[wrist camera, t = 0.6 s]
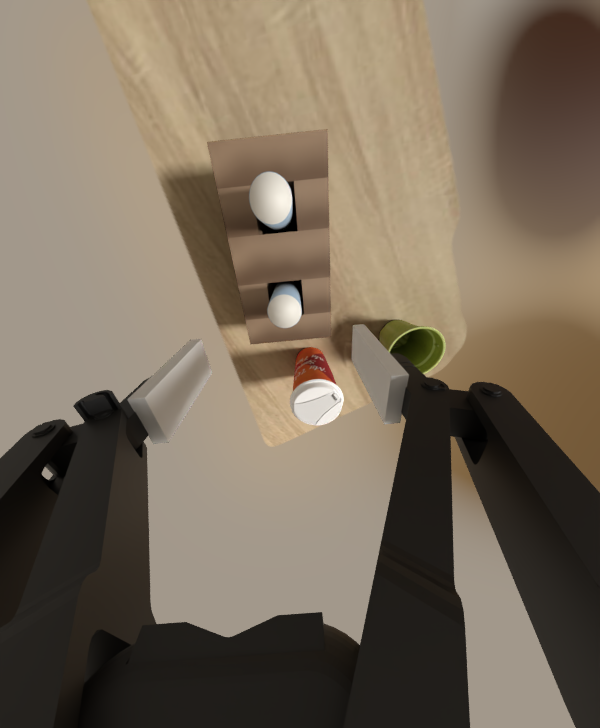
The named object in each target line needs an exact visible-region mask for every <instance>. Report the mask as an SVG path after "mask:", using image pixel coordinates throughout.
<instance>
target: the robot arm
mask: <svg viewBox="0 0 600 728" xmlns="http://www.w3.org/2000/svg"><path fill="white" fill-rule="evenodd" d="M352 362H353V364H354V366H355V368H356V370H357V372H358V374H359V376H360V378H361V380H362V382H363V383H364V385H365V387H366V389H367V391H368V393H369V395H370V397H371V399H372V401H373V403H374V405H375V407H376V409H377V411H378V413H379V415H380V417H381V419H382V421H383V423H384V424H392V423H400V421H401V415H402V414H403V416H404V417H405V419H406V423H405V428H404V433H403V438H402V443H401V448H400V453H399V458H398V463H397V467H396V472H395V477H394V482H393V487H392V492H391V497H390V502H389V507H388V512H387V516H386V521H385V526H384V531H383V536H382V541H381V546H380V551H379V556H378V560H377V565H376V570H375V575H374V580H373V585H372V590H371V595H370V600H369V604H368V609H367V614H366V619H365V624H364V629H363V634H362V639H361V643H360V645H359V644H358V643H357V642H356V641H354V640H353V639H352V638H351V637H349V636H348V635H347V634H345V633H343V632H342V631H340V630H338V629H336V628H334V627H331V626H329V625H326V624H324V623H323V617H322V612H318V613H305V614H291V615H278V616H276V617H273V618H271V619H269V620H267V621H265V622H263V623H261V624H258V625H256V626H254V627H252V628H250V629H248V630H246V631H243V632H241V633H240V634H237V635H235V636H233V637H223V636H221V635H218V634H216V633H213V632H210V631H207V630H205V629H203V628H200V627H197V626H194V625H192V624H190V623H187V622H182V623H167V624H156V622H155V619H154V616H153V614H152V610H151V603H150V569H149V568H150V566H149V523H148V478H147V447H146V445H145V443H144V442H143V441H144V440H145V439H146V437H147V436H149V437H150V439H151V441H152V442H153V444H157V443H168V442H169V441H170V440H171V438H172V436H173V435H174V433H175V431H176V430H177V428H178V427H179V425H180V424H181V422H182V420H183V419H184V417H185V415H186V414H187V412H188V411H189V409H190V407H191V406H192V404H193V403H194V401H195V399H196V398H197V396H198V395H199V393H200V391H201V390H202V388H203V386H204V385H205V383H206V382H207V380H208V379H209V377H210V375H211V374H212V370H211V367H210V364H209V361H208V358H207V355H206V352H205V349H204V346H203V343H202V340H201V339H196V340H190V341H189V342H188V343H187V344H186V345H184V346H183V347H182V349H180V350H179V351H178V352H177V353H176V354H175V355H174V356H173V357H172V358H171V359H170V360H169V361H168V362H167V363H165V364H164V365H163V366H162V367H161V368H160V369H159V370H158V371H157V372H156V373H155V374H154V375H153V376H151V377H150V378H148V379H146V380H145V381H143V382H142V383H141V384H140V385H139V386H138V388H136V389H135V390H134V391H133V392H131V393H130V394H129V395H128V396H127V397H126V398H125V399H124V400H123V401H122V402H121V403H119V402H118V400H117V399H116V397H115V395H114V394H113V392H112V391H109V390H104V391H99V392H96V393H93V394H90V395H88V396H86V397H84V398H82V399H80V400H79V401H78V402H76V403H75V405H74V408H75V409H76V410H77V412H78V413H79V414H80V416H81V417H82V418H83V419H84V421H85V422H84V424H80V425H76V426H72V427H69V425H68V424H67V423H66V422H65V420H60V419H59V420H53V421H50V422H45V423H43V424H42V425H38V426H36V427H35V428H34V429H33V430H31V431H29V432H28V433H27V434H25V435H24V436H23V437H22V438H21V439H20V440H19V441H18V442H17V443H16V444H15V445H14V446H13V447H12V448H11V449H10V450H9V451H8V452H6V453H5V455H3V456H2V457H1V458H0V728H470V718H469V698H468V679H467V659H466V658H467V657H466V637H465V622H464V612H463V607H462V602H461V598H460V597H459V595H458V594H457V592H456V589H455V585H454V560H453V524H452V523H453V521H452V481H451V441H450V436H453V437H455V439H456V441H457V443H458V446H459V448H460V451H461V453H462V456H463V458H464V460H465V463H466V465H467V468H468V470H469V472H470V475H471V477H472V480H473V482H474V485H475V487H476V489H477V492H478V494H479V496H480V499H481V501H482V504H483V506H484V509H485V511H486V514H487V516H488V518H489V521H490V523H491V525H492V528H493V530H494V532H495V535H496V538H497V540H498V543H499V545H500V547H501V550H502V552H503V554H504V557H505V560H506V562H507V564H508V567H509V569H510V571H511V574H512V576H513V579H514V581H515V584H516V586H517V589H518V591H519V593H520V596H521V598H522V601H523V603H524V605H525V608H526V610H527V613H528V615H529V618H530V620H531V622H532V625H533V627H534V630H535V632H536V635H537V637H538V639H539V642H540V644H541V647H542V649H543V651H544V654H545V656H546V658H547V661H548V664H549V666H550V668H551V671H552V673H553V675H554V678H555V680H556V683H557V685H558V688H559V690H560V693H561V695H562V697H563V700H564V702H565V705H566V707H567V709H568V711H569V713H570V716H571V718H572V720H573V722H574V725H575V727H576V728H600V493H599V492H598V490H597V489H596V488H595V487H594V486H593V485H592V484H591V483H590V481H589V480H588V479H587V478H586V477H585V476H584V475H583V473H582V472H581V471H580V470H579V469H578V468H577V467H576V466H575V464H574V463H573V462H572V461H571V460H570V459H569V458H568V456H567V455H566V454H565V453H564V452H563V451H562V450H561V449H560V448H559V446H558V445H557V444H556V443H555V442H554V441H553V440H552V439H551V437H550V436H549V435H548V434H547V433H546V432H545V431H544V430H543V428H542V427H541V426H540V425H539V424H538V423H537V422H536V420H535V419H534V418H533V417H532V416H531V415H530V414H529V413H528V412H527V411H526V409H525V408H524V407H523V406H522V405H521V404H520V403H519V401H518V400H517V399H516V398H515V397H514V396H513V395H512V393H511V392H509V391H508V390H507V389H505V388H503V387H501V386H499V385H496V384H493V383H486V382H476V383H473V384H472V385H471V386H470V388H469V391H460V390H451V389H449V388H448V386H447V385H446V384H445V383H444V382H442V381H440V380H438V379H433V378H427V377H426V376H425V375H424V374H423V373H422V372H421V371H420V370H419V369H418V368H417V367H416V366H414V364H413V363H412V362H411V361H410V360H409V359H408V358H406V357H405V356H403V355H401V354H399V353H393V354H390V353H389V352H388V350H387V349H386V348H385V347H384V346H383V345H382V344H381V343H380V342H379V340H378V339H377V338H376V337H375V336H374V335H373V334H372V333H371V331H370V330H369V329H368V328H367V327H366V326H365V325H364V324H359V325H353V334H352ZM44 467H46V468H47V469H48V470H49V471H50V472H51V473H52V474H53V476H52V477H51V479H49V480H47V479H46V478H44V477H43V476H42V471H43V469H44Z"/></svg>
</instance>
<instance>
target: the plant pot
mask: <svg viewBox="0 0 600 728" xmlns="http://www.w3.org/2000/svg"><path fill="white" fill-rule="evenodd" d="M406 333H408V334H407V335H406ZM379 341H380V343H381V344H382V345H383V346H384V347H385V348H386V349H387V350H388V352H389V353H390V354H393V353H399V354H401V355H403V356H405V357H406V358H408V359H409V360H410V361H411V362H412V363H413V364H414V366H416V367H417V368H418V369H419V370H420V371H421V372H422V373H423V374H425V373H427V372H429V371H430V370H432V369H433V368H434V367H435V366H436V365H437V364H438V363H439V362H440V360H441V359H442V357H443V355H444V352H445V340H444V337H443V335H442V334H441V333H440V332H439V331H438V330H436V329H434V328H432V327H427V326H415V325H413V324H410V323H408V322H405V321H402V320H394V321H391V322H389V323H387V324H386V326H385V327H384V328H383V329H382V330H381V332H380V335H379ZM395 344H398V345H397V346H393V345H395Z"/></svg>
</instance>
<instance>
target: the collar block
mask: <svg viewBox="0 0 600 728" xmlns="http://www.w3.org/2000/svg"><path fill="white" fill-rule="evenodd" d="M207 144H208V149H209V153H210V158H211V163H212V167H213V172H214V177H215V181H216V186H217V191H218V195H219V200H220V205H221V209H222V214H223V218H224V223H225V228H226V232H227V237H228V242H229V246H230V251H231V256H232V260H233V265H234V270H235V274H236V279H237V284H238V288H239V293H240V298H241V302H242V307H243V311H244V316H245V321H246V325H247V330H248V335H249V339H250V344H259V343H270V342H281V341H292V340H302V339H313V338H324V337H331V299H330V244H329V189H328V134H327V129H324V130H314V131H305V132H296V133H286V134H277V135H268V136H258V137H249V138H240V139H230V140H221V141H212V142H207ZM263 172H275V173H278V174H279V175H281V176H282V177H283V178H284V179H285V180H286V181H287V183H288V184H289V186H290V189H291V192H292V198H293V199H294V211H295V224H296V231H294V232H284V233H274V234H267V231H266V225H265V224H264V223H262V222H261V221H260V220H259V219H258V218H257V217H256V216H255V215H254V213H253V211H252V209H251V206H250V202H249V191H250V187H251V184H252V182H253V181H254V179H255V178H256V177H257V176H258V175H259V174H261V173H263ZM294 280H300V285H301V297H302V299H300V301H301V308H302V315H301V318H300V320H299V321H298V323H297V324H296V325H294V326H292V327H290V328H280V327H278V326H276V325H274V324H273V323H272V322H271V321H270V319H269V317H268V313H267V308H268V304H269V302H270V299H271V297H272V294H273V292H274V282H284V281H294Z"/></svg>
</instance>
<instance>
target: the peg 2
mask: <svg viewBox="0 0 600 728" xmlns="http://www.w3.org/2000/svg"><path fill="white" fill-rule="evenodd" d="M267 313H268V317H269V319H270V321H271V322H272V323H273V324H274V325H276V326H278V327H280V328H290V327H292V326H294V325H296V324H297V323H298V321H299V320H300V318H301V315H302V308H301V301H300V294H299V289H298V287H297V285H296V284H295V283H293V282H292V281H284V282H279V283H278V284H277V285H276V287H275V289H274V292H273V294H272V297H271V299H270V302H269V304H268V308H267Z"/></svg>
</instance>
